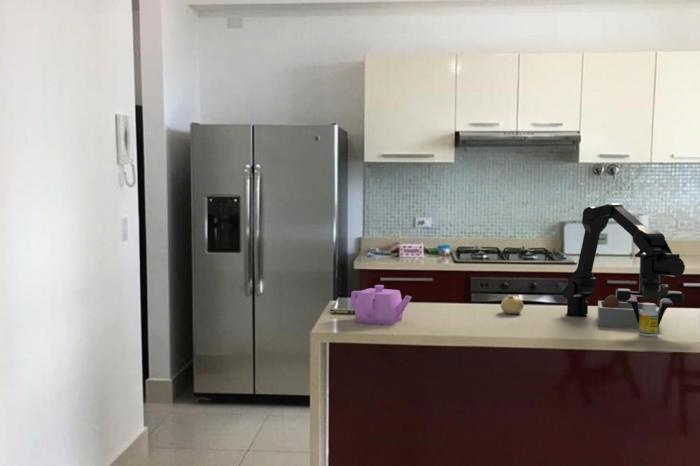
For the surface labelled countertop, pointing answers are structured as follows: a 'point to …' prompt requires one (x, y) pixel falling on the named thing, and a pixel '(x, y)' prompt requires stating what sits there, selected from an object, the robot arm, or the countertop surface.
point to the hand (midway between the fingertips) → (648, 323)
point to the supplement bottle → (648, 320)
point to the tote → (619, 315)
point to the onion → (512, 304)
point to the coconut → (611, 302)
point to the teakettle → (378, 305)
